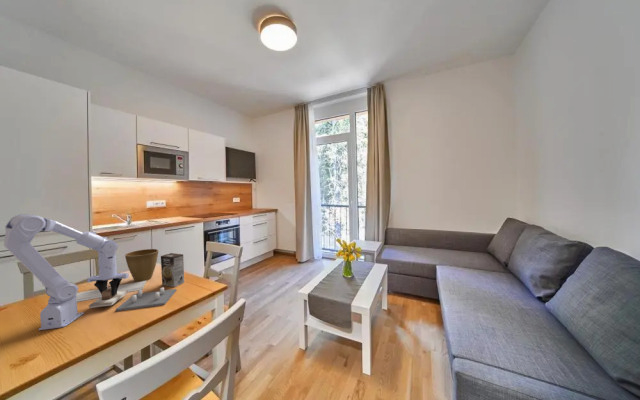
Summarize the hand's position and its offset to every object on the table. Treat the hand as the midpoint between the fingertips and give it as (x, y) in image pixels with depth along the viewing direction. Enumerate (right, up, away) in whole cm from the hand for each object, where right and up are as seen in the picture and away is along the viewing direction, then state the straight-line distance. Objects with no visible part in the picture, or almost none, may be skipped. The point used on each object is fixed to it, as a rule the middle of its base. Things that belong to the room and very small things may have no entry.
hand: (109, 295), depth 99 cm
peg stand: (+16, -3, +3) cm, 17 cm away
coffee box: (+16, -3, +20) cm, 26 cm away
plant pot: (-6, -3, +27) cm, 27 cm away
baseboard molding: (-12, -4, +10) cm, 16 cm away
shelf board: (0, -2, 0) cm, 2 cm away
